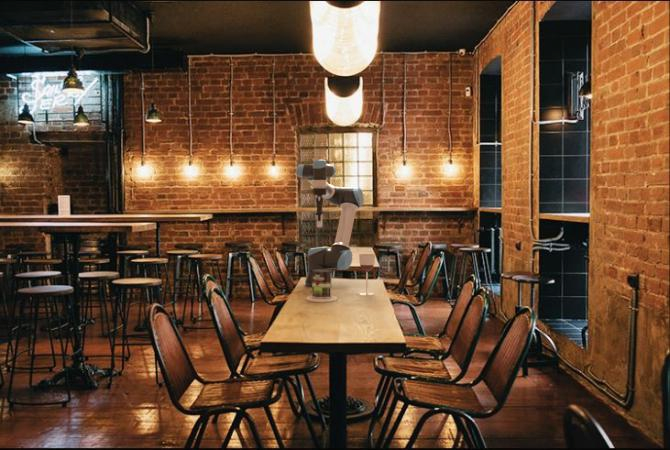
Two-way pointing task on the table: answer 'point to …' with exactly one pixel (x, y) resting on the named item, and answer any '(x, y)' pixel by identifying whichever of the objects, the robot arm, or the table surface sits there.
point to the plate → (322, 299)
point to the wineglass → (367, 267)
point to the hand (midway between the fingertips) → (319, 226)
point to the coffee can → (321, 283)
